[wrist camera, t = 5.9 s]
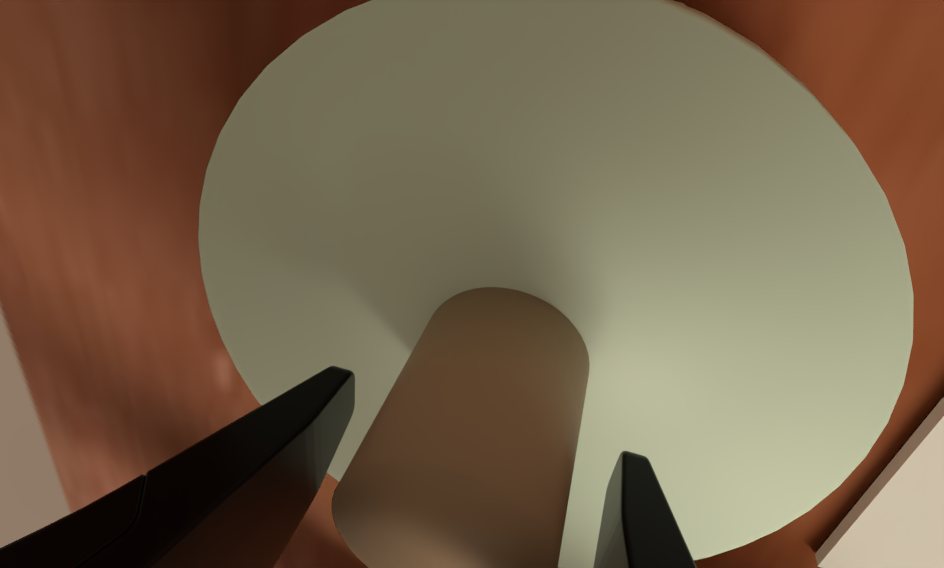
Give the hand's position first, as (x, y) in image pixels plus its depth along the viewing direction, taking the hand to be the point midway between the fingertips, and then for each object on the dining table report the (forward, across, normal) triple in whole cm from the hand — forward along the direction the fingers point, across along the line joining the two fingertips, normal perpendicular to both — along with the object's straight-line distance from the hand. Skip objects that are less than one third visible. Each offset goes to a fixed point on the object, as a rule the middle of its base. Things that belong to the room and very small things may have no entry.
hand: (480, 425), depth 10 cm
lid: (+2, 0, 0) cm, 3 cm away
